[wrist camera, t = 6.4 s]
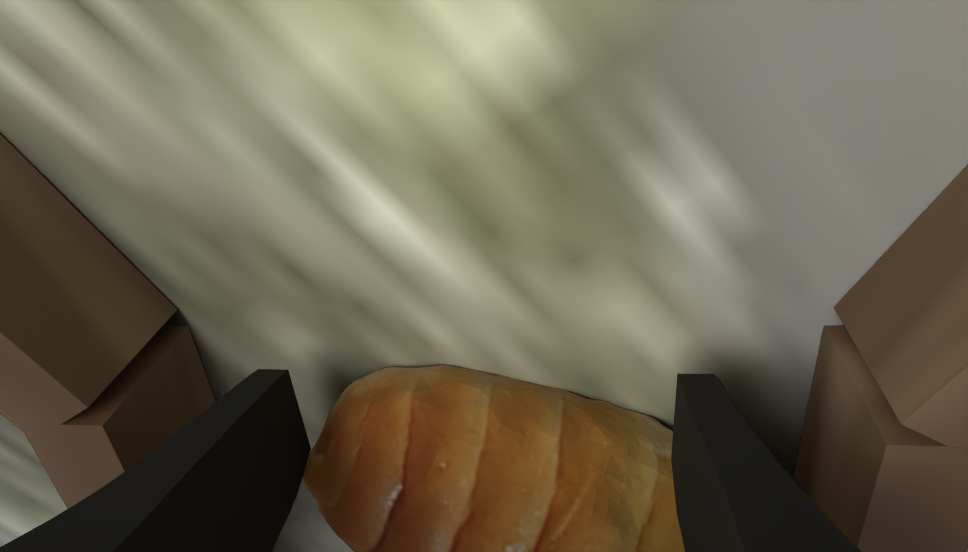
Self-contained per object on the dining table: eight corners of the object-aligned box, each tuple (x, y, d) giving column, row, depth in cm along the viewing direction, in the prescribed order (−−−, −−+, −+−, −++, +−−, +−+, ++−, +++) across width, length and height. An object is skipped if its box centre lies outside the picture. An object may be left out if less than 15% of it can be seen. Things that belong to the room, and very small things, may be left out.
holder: (200, 678, 22) (149, 786, 19) (-93, 112, 12) (-267, 174, 10) (895, 734, 19) (945, 872, 16) (1187, 44, 9) (1411, 110, 7)
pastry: (294, 482, 17) (225, 629, 13) (394, 274, 13) (335, 404, 10) (628, 621, 18) (639, 787, 15) (797, 462, 15) (862, 633, 11)
